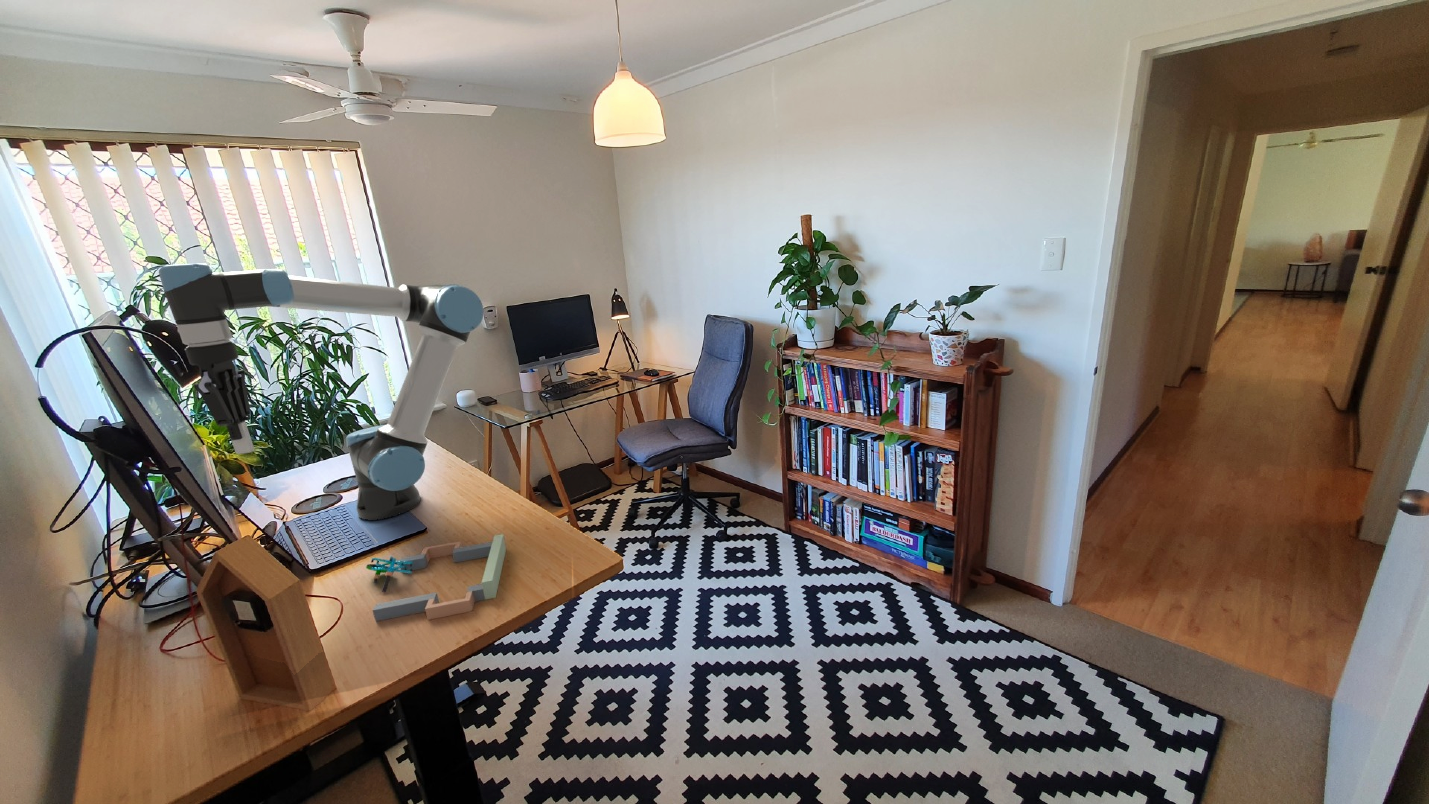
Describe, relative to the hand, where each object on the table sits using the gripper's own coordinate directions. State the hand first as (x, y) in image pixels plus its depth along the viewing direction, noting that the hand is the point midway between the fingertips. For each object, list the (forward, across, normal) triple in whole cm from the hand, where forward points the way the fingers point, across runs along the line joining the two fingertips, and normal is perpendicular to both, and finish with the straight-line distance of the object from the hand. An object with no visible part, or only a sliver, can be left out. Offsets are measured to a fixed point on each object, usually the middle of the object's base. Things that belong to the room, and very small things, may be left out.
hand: (245, 452), depth 115 cm
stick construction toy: (+30, +12, +28) cm, 43 cm away
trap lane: (+29, +18, +37) cm, 50 cm away
